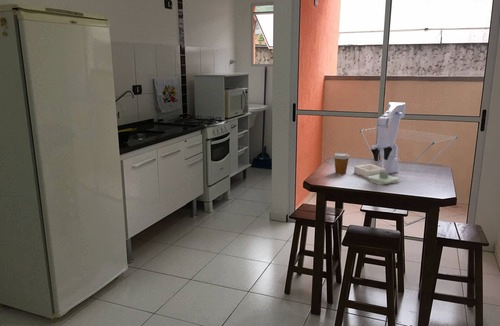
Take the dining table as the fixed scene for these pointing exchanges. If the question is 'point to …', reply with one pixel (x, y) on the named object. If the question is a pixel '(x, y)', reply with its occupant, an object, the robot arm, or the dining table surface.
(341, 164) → the disposable coffee cup
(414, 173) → the dining table surface
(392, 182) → the mat
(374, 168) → the tub
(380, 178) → the lid
